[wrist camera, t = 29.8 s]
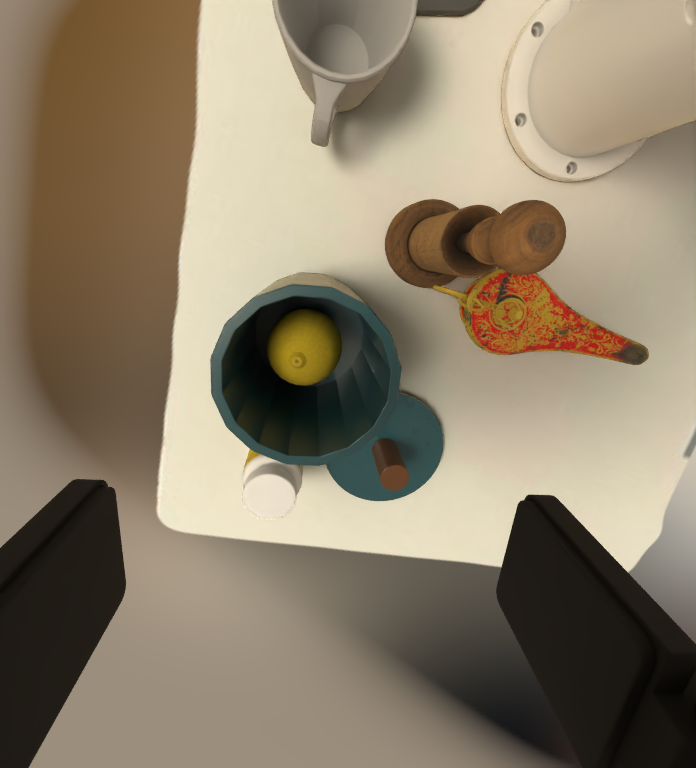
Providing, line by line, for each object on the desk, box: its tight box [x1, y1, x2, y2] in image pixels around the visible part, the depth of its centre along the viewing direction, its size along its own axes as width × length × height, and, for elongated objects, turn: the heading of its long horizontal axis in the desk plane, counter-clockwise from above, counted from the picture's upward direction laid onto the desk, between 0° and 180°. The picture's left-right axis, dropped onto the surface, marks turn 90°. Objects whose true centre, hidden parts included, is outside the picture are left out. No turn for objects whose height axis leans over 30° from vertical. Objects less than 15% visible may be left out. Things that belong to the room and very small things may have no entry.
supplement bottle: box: [242, 449, 303, 520], centre depth 33 cm, size 5×5×8 cm
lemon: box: [267, 309, 342, 386], centre depth 30 cm, size 6×6×8 cm
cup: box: [272, 0, 418, 147], centre depth 25 cm, size 8×10×8 cm
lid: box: [326, 392, 443, 501], centre depth 35 cm, size 11×11×6 cm
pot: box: [211, 273, 401, 466], centre depth 28 cm, size 10×10×14 cm
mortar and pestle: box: [385, 199, 566, 288], centre depth 24 cm, size 7×6×18 cm
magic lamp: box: [433, 269, 649, 365], centre depth 30 cm, size 7×18×11 cm, turn 72°
